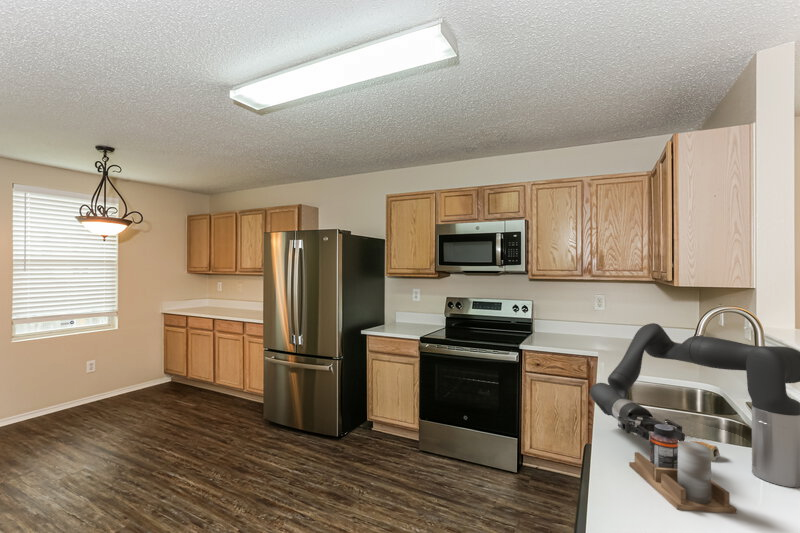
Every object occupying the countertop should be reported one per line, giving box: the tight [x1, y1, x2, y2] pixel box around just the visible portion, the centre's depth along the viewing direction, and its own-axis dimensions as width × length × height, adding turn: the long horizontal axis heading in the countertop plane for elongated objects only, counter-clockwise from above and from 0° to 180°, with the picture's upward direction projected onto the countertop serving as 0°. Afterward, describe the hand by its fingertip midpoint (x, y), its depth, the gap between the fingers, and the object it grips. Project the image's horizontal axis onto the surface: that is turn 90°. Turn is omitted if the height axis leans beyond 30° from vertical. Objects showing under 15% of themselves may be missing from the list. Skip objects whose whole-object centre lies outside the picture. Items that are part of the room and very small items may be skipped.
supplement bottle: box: [649, 424, 679, 469], centre depth 99 cm, size 6×6×11 cm
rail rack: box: [628, 440, 737, 514], centre depth 94 cm, size 12×20×12 cm, turn 176°
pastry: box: [689, 440, 721, 462], centre depth 114 cm, size 9×7×4 cm
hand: (665, 437), depth 99 cm, fingers open, 8 cm apart
